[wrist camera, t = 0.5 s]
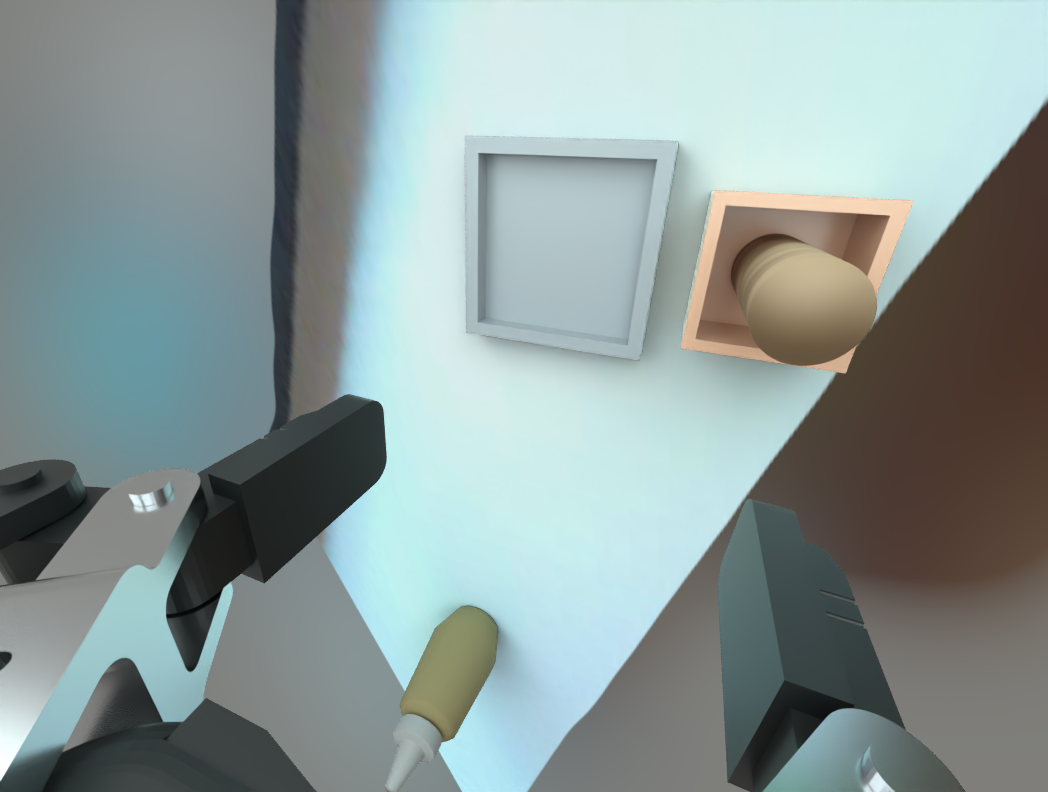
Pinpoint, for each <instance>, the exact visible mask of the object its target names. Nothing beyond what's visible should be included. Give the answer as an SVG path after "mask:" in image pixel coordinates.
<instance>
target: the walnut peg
mask: <svg viewBox="0 0 1048 792" xmlns="http://www.w3.org/2000/svg"><path fill="white" fill-rule="evenodd" d="M731 281H732V285H733V287H734V290H735V293H736V295H737V298H738V301H739V303H740V306H741V308H742V311H743V314H744V316H745V319H746V322H747V324H748V327H749V330H750V332H751V335H752V337H753V339H754V341H755V343H756V344H757V346H758V347H759V348H760V349H761V350H762V351H763V352H764V353H765V354H766V355H768V356H769V357H771V358H773V359H775V360H777V361H779V362H782V363H785V364H790V365H796V366H811V365H818V364H822V363H826V362H829V361H832V360H834V359H836V358H839V357H841V356H842V355H844V354H846V353H847V352H849V351H850V350H852V349H853V348H854V347H855V346H856V345H857V344H859V343H860V342H861V340H862V339H863V338H864V337H865V336H866V334H867V333H868V331H869V330H870V328H871V326H872V324H873V321H874V318H875V315H876V310H877V298H876V292H875V290H874V287H873V285H872V283H871V281H870V280H869V278H868V277H867V276H866V275H865V274H864V273H863V272H862V271H861V270H860V269H859V268H857V267H855V266H854V265H852V264H850V263H848V262H846V261H844V260H841V259H839V258H837V257H835V256H833V255H831V254H828V253H826V252H824V251H822V250H820V249H818V248H816V247H813V246H811V245H809V244H807V243H805V242H803V241H800V240H798V239H796V238H794V237H792V236H789V235H786V234H776V233H774V234H767V235H763V236H760V237H758V238H756V239H754V240H752V241H751V242H749V243H748V244H747V245H745V246H744V247H743V248H742V249H741V250H740V252H739V253H738V254H737V256H736V258H735V260H734V262H733V265H732V269H731Z"/></svg>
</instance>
